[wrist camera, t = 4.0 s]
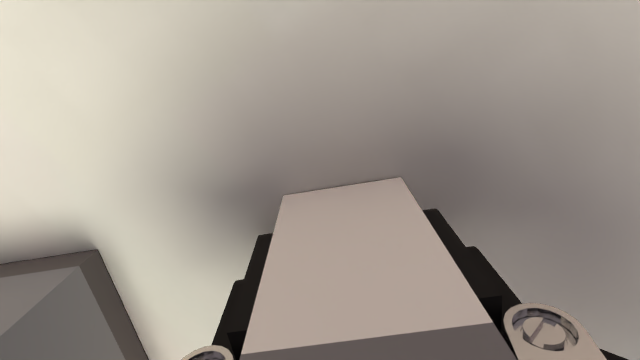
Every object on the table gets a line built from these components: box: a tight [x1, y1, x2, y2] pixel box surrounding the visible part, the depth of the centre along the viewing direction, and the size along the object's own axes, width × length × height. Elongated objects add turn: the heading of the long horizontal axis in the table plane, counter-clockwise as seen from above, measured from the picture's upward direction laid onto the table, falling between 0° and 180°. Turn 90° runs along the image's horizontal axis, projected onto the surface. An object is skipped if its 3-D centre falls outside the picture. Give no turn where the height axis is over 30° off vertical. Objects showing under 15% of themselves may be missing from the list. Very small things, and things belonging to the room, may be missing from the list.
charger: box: [240, 177, 517, 360], centre depth 8 cm, size 4×4×8 cm
